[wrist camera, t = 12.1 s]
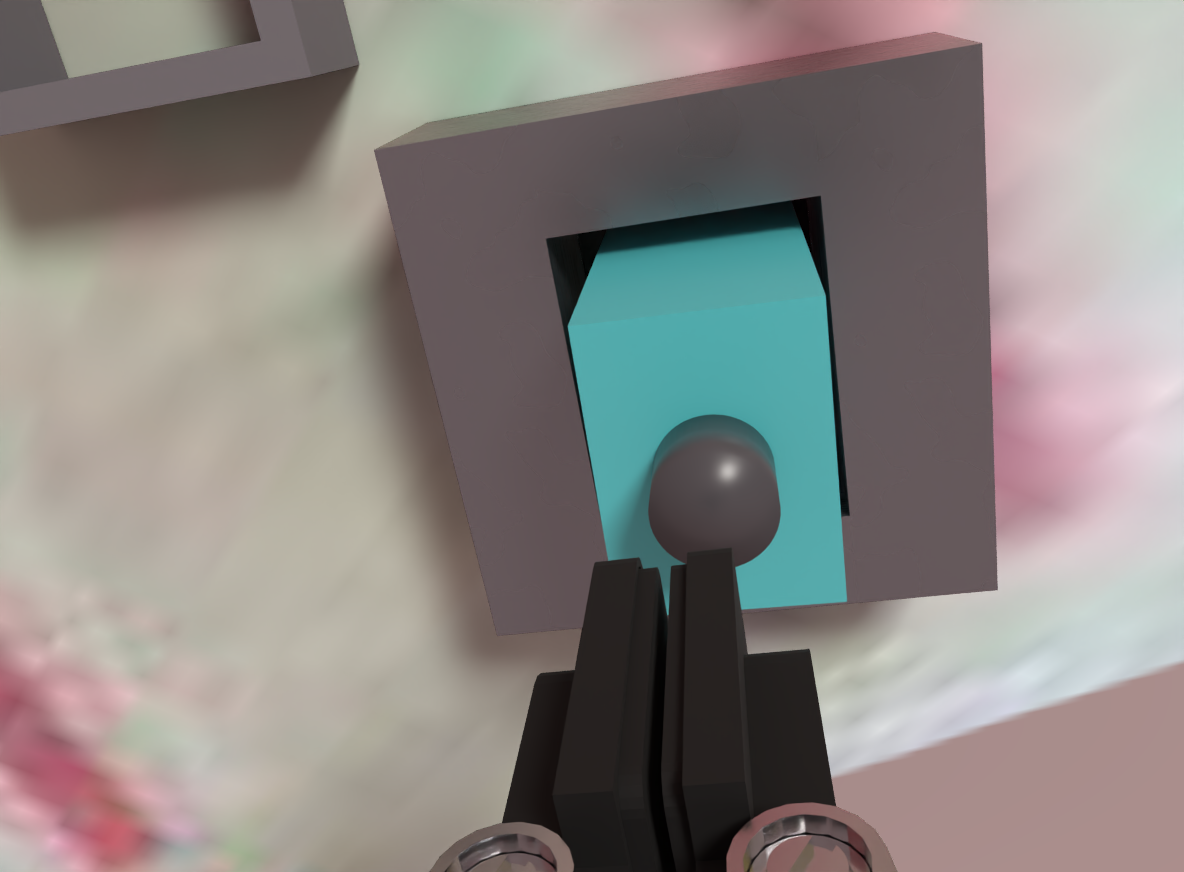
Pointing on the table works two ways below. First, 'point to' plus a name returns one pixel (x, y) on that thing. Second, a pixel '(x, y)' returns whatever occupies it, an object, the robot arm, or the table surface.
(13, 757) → the table surface
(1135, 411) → the table surface
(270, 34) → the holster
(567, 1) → the table surface
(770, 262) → the plug
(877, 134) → the port
